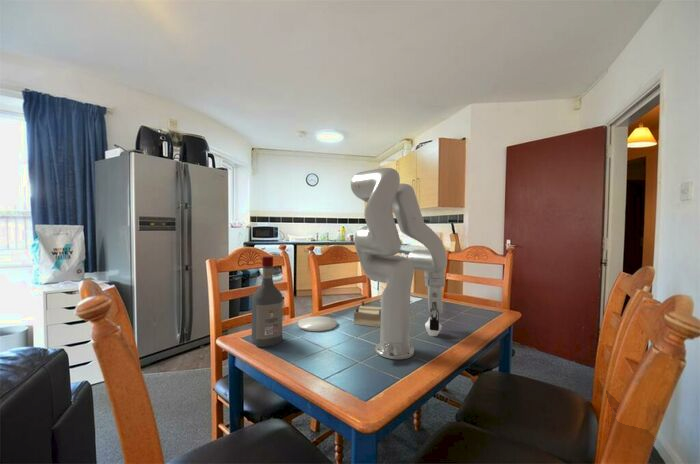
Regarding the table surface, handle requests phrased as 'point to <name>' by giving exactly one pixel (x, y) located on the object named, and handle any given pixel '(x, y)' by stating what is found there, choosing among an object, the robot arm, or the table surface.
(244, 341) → the table surface
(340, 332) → the table surface
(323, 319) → the white plate
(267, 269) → the liquor
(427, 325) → the white rounded piece
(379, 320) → the pegged square board
